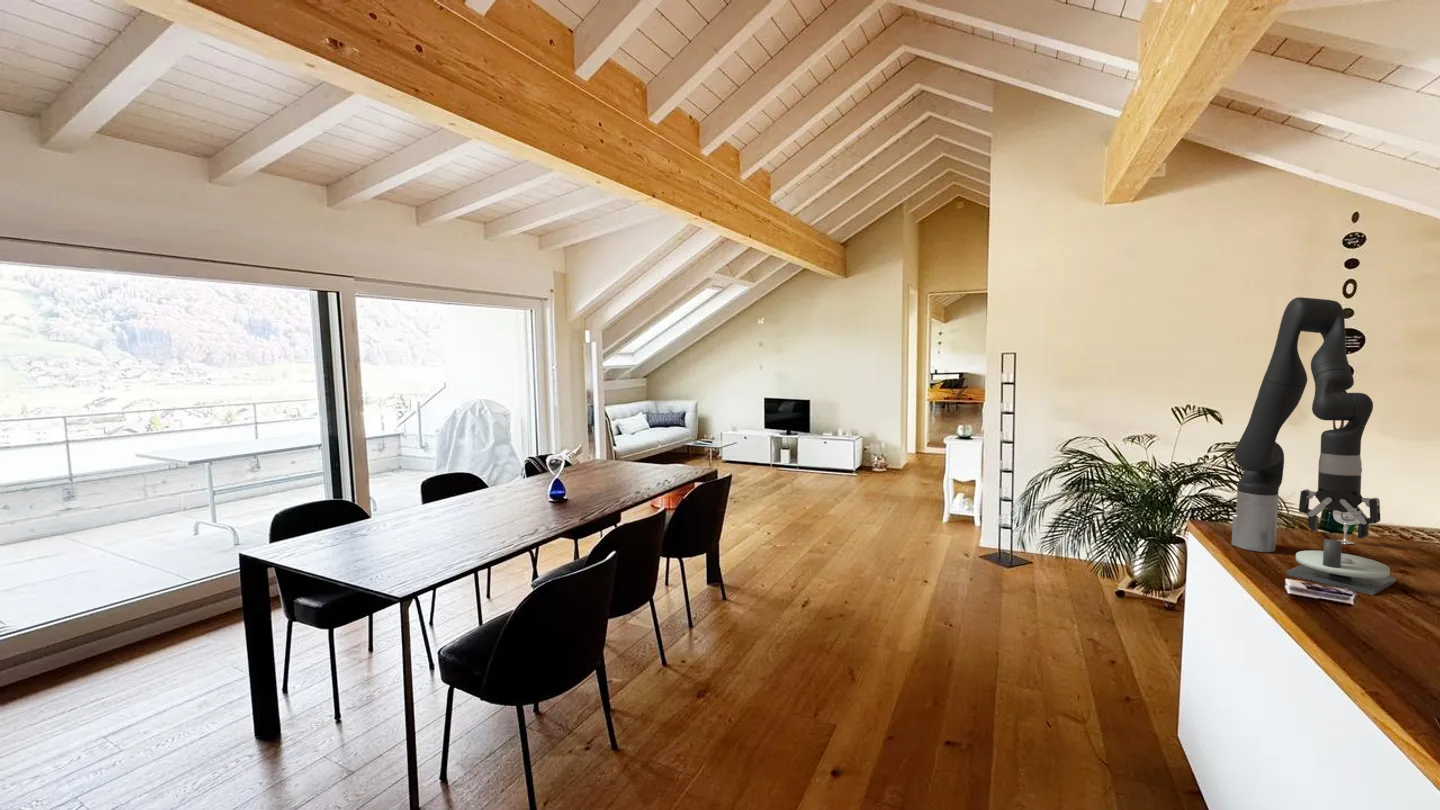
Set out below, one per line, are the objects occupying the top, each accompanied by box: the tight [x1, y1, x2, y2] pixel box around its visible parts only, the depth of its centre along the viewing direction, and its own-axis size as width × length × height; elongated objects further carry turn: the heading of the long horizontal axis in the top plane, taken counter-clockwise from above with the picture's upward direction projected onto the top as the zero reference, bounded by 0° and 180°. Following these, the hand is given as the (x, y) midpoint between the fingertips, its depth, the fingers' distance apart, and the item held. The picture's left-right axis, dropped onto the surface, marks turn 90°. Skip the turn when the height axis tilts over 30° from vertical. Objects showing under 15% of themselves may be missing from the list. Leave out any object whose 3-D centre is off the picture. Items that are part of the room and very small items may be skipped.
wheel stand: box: [1286, 564, 1396, 596], centre depth 156 cm, size 16×16×3 cm
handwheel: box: [1295, 538, 1391, 578], centre depth 155 cm, size 17×17×8 cm
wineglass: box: [1332, 509, 1360, 545], centre depth 183 cm, size 6×6×12 cm
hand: (1337, 534), depth 151 cm, fingers open, 8 cm apart
